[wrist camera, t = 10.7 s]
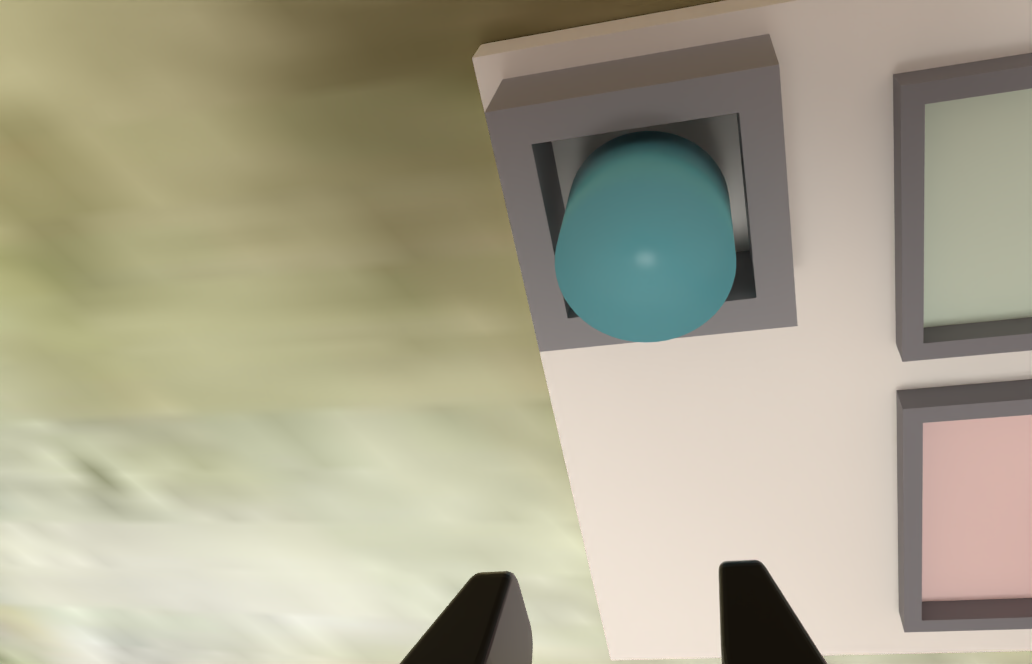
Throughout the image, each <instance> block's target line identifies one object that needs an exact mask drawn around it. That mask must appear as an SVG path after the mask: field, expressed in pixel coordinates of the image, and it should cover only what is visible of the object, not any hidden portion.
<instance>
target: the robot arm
mask: <svg viewBox="0 0 1032 664" xmlns="http://www.w3.org/2000/svg"><path fill="white" fill-rule="evenodd" d="M718 572H719V607H720V640H721V658H722V664H827V663H826V661H825V659H824V658H823V656H822V655H821V653H820V652H819V650H818V648H817V647H816V645H815V644H814V642H813V641H812V639H811V637H810V636H809V634H808V633H807V631H806V630H805V628H804V626H803V625H802V623H801V622H800V620H799V619H798V617H797V615H796V614H795V612H794V611H793V609H792V608H791V606H790V604H789V603H788V601H787V600H786V598H785V597H784V595H783V593H782V592H781V590H780V589H779V587H778V586H777V584H776V582H775V581H774V579H773V578H772V576H771V574H770V573H769V571H768V570H767V568H766V567H765V565H764V564H763V563H762V562H760V561H758V560H740V561H724V562H722V563H721V564H720V566H719V571H718ZM532 649H533V643H532V631H531V626H530V622H529V618H528V615H527V611H526V608H525V604H524V601H523V597H522V594H521V590H520V587H519V583H518V580H517V578H516V577H515V575H514V574H513V573H511V572H508V571H503V572H482V573H477V574H475V575H474V576H472V577H471V578H470V579H469V581H468V582H467V583H466V584H465V585H464V587H463V588H462V589H461V590H460V591H459V593H458V594H457V595H456V596H455V598H454V599H453V600H452V601H451V602H450V604H449V605H448V606H447V607H446V608H445V610H444V611H443V612H442V613H441V614H440V616H439V617H438V618H437V619H436V620H435V622H434V623H433V624H432V625H431V627H430V628H429V629H428V630H427V631H426V633H425V634H424V635H423V636H422V637H421V639H420V640H419V641H418V642H417V643H416V645H415V646H414V647H413V648H412V649H411V651H410V652H409V653H408V654H407V656H406V657H405V658H404V659H403V660H402V662H401V663H400V664H532Z"/></svg>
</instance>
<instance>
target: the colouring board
mask: <svg viewBox="0 0 1032 664" xmlns="http://www.w3.org/2000/svg"><path fill="white" fill-rule="evenodd" d="M472 60H473V65H474V69H475V73H476V78H477V82H478V86H479V91H480V95H481V99H482V104H483V108H484V112H485V117H486V121H487V126H488V130H489V134H490V139H491V143H492V147H493V152H494V156H495V160H496V165H497V169H498V173H499V178H500V182H501V186H502V191H503V195H504V199H505V204H506V208H507V212H508V217H509V221H510V225H511V230H512V234H513V238H514V243H515V247H516V251H517V256H518V260H519V264H520V269H521V273H522V277H523V282H524V286H525V290H526V295H527V299H528V303H529V308H530V312H531V316H532V321H533V325H534V329H535V334H536V338H537V342H538V347H539V351H540V355H541V360H542V364H543V369H544V373H545V377H546V382H547V386H548V390H549V395H550V399H551V403H552V408H553V412H554V416H555V421H556V425H557V429H558V434H559V438H560V442H561V447H562V451H563V455H564V460H565V464H566V468H567V473H568V477H569V481H570V486H571V490H572V494H573V499H574V503H575V507H576V512H577V516H578V520H579V525H580V529H581V533H582V538H583V542H584V546H585V551H586V555H587V559H588V564H589V568H590V572H591V577H592V581H593V585H594V590H595V594H596V598H597V603H598V607H599V612H600V616H601V620H602V625H603V629H604V633H605V638H606V642H607V646H608V651H609V655H610V659H611V660H646V659H691V658H721V640H720V607H719V572H718V571H719V566H720V564H721V563H722V562H724V561H740V560H758V561H760V562H762V563H763V564H764V565H765V567H766V568H767V570H768V571H769V573H770V574H771V576H772V578H773V579H774V581H775V582H776V584H777V586H778V587H779V589H780V590H781V592H782V593H783V595H784V597H785V598H786V600H787V601H788V603H789V604H790V606H791V608H792V609H793V611H794V612H795V614H796V615H797V617H798V619H799V620H800V622H801V623H802V625H803V626H804V628H805V630H806V631H807V633H808V634H809V636H810V637H811V639H812V641H813V642H814V644H815V645H816V647H817V648H818V650H819V652H820V653H821V655H822V656H826V655H871V654H916V653H961V652H1006V651H1032V0H725V1H719V2H714V3H708V4H702V5H697V6H691V7H686V8H680V9H675V10H669V11H664V12H658V13H653V14H647V15H641V16H636V17H630V18H625V19H619V20H614V21H608V22H603V23H597V24H592V25H586V26H580V27H575V28H569V29H564V30H558V31H553V32H547V33H542V34H536V35H531V36H525V37H519V38H514V39H508V40H503V41H497V42H492V43H486V44H481V45H480V47H479V48H478V50H477V51H476V53H475V54H474V56H473V57H472ZM639 131H661V132H667V133H671V134H675V135H678V136H681V137H683V138H685V139H688V140H690V141H691V142H693V143H695V144H696V145H698V146H699V147H701V148H702V149H703V150H704V151H706V152H707V153H708V154H709V155H710V156H711V158H712V159H713V160H714V161H715V162H716V164H717V165H718V167H719V168H720V170H721V172H722V174H723V176H724V178H725V181H726V184H727V187H728V192H729V199H730V207H731V216H732V225H733V234H734V242H735V251H736V272H735V278H734V282H733V285H732V288H731V290H730V293H729V295H728V297H727V299H726V300H725V302H724V303H723V305H722V306H721V308H720V309H719V310H718V311H717V312H716V314H715V315H714V316H712V317H711V318H710V319H709V320H708V321H707V322H706V323H704V324H703V325H701V326H700V327H699V328H697V329H695V330H693V331H691V332H690V333H688V334H685V335H683V336H680V337H677V338H674V339H670V340H666V341H659V342H645V343H644V342H632V341H626V340H621V339H618V338H615V337H611V336H609V335H607V334H604V333H602V332H600V331H598V330H597V329H595V328H593V327H591V326H590V325H589V324H587V323H586V322H585V321H583V320H582V319H581V318H580V317H579V316H578V315H577V314H576V313H575V312H574V311H573V310H572V308H571V307H570V306H569V305H568V303H567V301H566V300H565V298H564V296H563V294H562V292H561V290H560V288H559V285H558V281H557V278H556V272H555V252H556V245H557V241H558V237H559V233H560V229H561V225H562V221H563V217H564V213H565V209H566V205H567V201H568V197H569V193H570V189H571V186H572V183H573V180H574V178H575V176H576V173H577V171H578V170H579V168H580V167H581V165H582V164H583V162H584V161H585V160H586V159H587V158H588V157H589V155H590V154H592V153H593V152H594V151H595V150H596V149H597V148H599V147H600V146H602V145H603V144H605V143H606V142H608V141H610V140H612V139H614V138H616V137H619V136H622V135H625V134H628V133H633V132H639Z"/></svg>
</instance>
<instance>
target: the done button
mask: <svg viewBox="0 0 1032 664" xmlns="http://www.w3.org/2000/svg"><path fill="white" fill-rule="evenodd" d="M555 272H556V278H557V281H558V285H559V288H560V290H561V292H562V294H563V296H564V298H565V300H566V301H567V303H568V305H569V306H570V307H571V308H572V310H573V311H574V312H575V313H576V314H577V315H578V316H579V317H580V318H581V319H582V320H583V321H585V322H586V323H587V324H589V325H590V326H591V327H593V328H595V329H597V330H598V331H600V332H602V333H604V334H607V335H609V336H611V337H615V338H618V339H621V340H626V341H632V342H644V343H645V342H659V341H666V340H670V339H674V338H677V337H680V336H683V335H685V334H688V333H690V332H691V331H693V330H695V329H697V328H699V327H700V326H701V325H703V324H704V323H706V322H707V321H708V320H709V319H710V318H711V317H712V316H714V315H715V314H716V312H717V311H718V310H719V309H720V308H721V306H722V305H723V303H724V302H725V300H726V299H727V297H728V295H729V293H730V290H731V288H732V285H733V282H734V278H735V272H736V251H735V242H734V234H733V225H732V216H731V207H730V199H729V192H728V187H727V184H726V181H725V178H724V176H723V174H722V172H721V170H720V168H719V167H718V165H717V164H716V162H715V161H714V160H713V159H712V158H711V156H710V155H709V154H708V153H707V152H706V151H704V150H703V149H702V148H701V147H699V146H698V145H696V144H695V143H693V142H691V141H690V140H688V139H685V138H683V137H681V136H678V135H675V134H671V133H667V132H661V131H639V132H633V133H628V134H625V135H622V136H619V137H616V138H614V139H612V140H610V141H608V142H606V143H605V144H603V145H602V146H600V147H599V148H597V149H596V150H595V151H594V152H593V153H592V154H590V155H589V157H588V158H587V159H586V160H585V161H584V162H583V164H582V165H581V167H580V168H579V170H578V171H577V173H576V176H575V178H574V180H573V183H572V186H571V189H570V193H569V197H568V201H567V205H566V209H565V213H564V217H563V221H562V225H561V229H560V233H559V237H558V241H557V245H556V252H555Z"/></svg>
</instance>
